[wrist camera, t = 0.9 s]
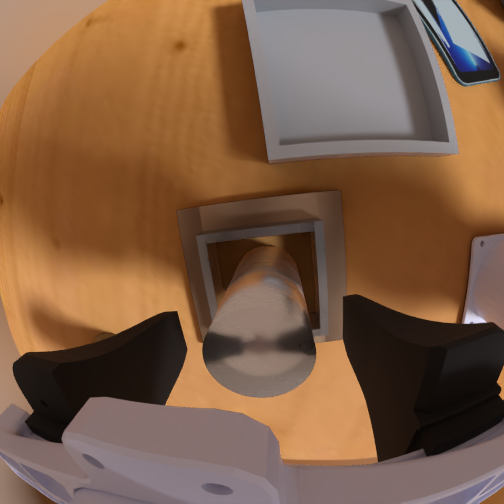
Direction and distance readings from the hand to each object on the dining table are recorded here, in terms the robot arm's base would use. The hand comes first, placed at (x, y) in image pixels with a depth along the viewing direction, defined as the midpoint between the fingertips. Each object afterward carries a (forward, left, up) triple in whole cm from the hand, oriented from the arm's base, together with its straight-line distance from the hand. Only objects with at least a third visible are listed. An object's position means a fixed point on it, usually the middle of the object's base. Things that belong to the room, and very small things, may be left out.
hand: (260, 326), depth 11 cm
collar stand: (0, 0, -7) cm, 7 cm away
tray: (-7, -13, -7) cm, 16 cm away
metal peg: (0, 0, -7) cm, 7 cm away
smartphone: (-18, -21, -7) cm, 29 cm away
